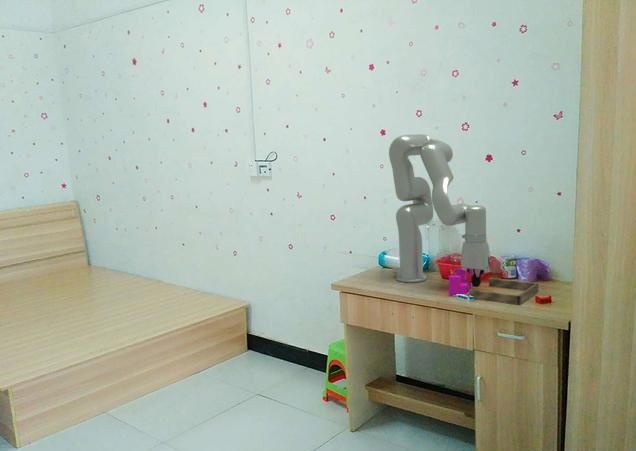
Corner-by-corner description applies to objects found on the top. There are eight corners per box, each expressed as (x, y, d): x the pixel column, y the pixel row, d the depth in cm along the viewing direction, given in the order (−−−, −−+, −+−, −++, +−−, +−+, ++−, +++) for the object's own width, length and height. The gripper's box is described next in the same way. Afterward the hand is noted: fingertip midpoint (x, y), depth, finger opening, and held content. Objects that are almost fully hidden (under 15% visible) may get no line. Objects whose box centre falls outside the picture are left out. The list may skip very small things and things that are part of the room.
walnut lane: (469, 297, 204) (469, 289, 203) (490, 285, 219) (490, 278, 219) (520, 305, 192) (520, 296, 192) (538, 291, 207) (538, 283, 207)
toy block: (466, 297, 205) (466, 277, 204) (449, 296, 207) (448, 276, 206) (473, 287, 218) (473, 268, 217) (457, 286, 221) (456, 267, 220)
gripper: (452, 239, 211) (453, 286, 214) (491, 241, 202) (491, 291, 204) (461, 235, 217) (461, 281, 219) (499, 238, 207) (499, 286, 210)
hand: (476, 286), depth 212 cm, fingers closed
